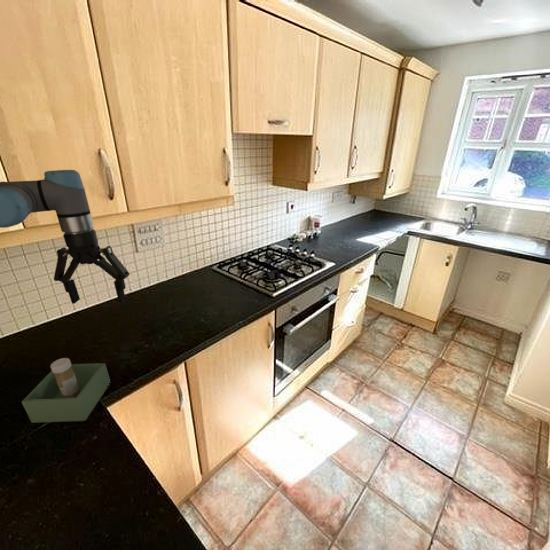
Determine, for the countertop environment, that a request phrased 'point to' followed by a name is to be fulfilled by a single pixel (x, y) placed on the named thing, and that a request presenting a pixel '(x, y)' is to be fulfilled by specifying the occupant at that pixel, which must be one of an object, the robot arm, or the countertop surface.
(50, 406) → the bin
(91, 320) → the countertop surface
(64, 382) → the sprinkles bottle
